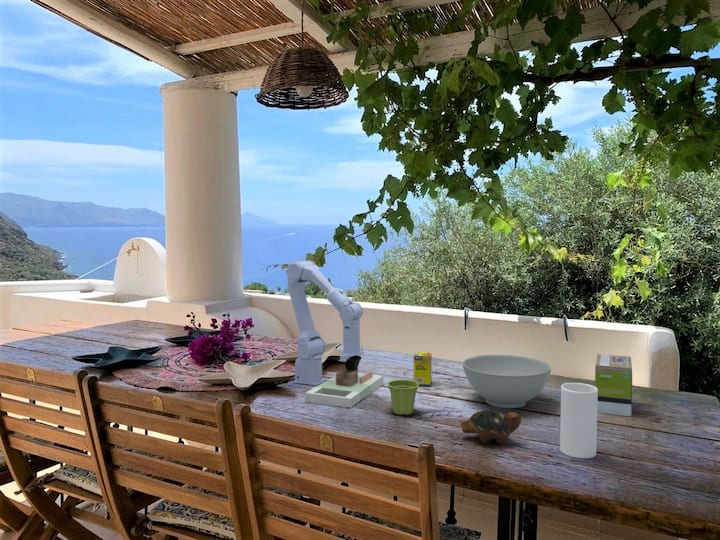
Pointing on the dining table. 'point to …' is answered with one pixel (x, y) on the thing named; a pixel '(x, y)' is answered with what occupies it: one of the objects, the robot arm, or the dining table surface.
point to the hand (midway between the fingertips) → (351, 377)
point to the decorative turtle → (492, 425)
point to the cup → (578, 420)
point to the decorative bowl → (506, 378)
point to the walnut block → (347, 378)
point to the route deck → (344, 391)
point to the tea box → (614, 384)
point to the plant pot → (403, 395)
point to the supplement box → (422, 368)
